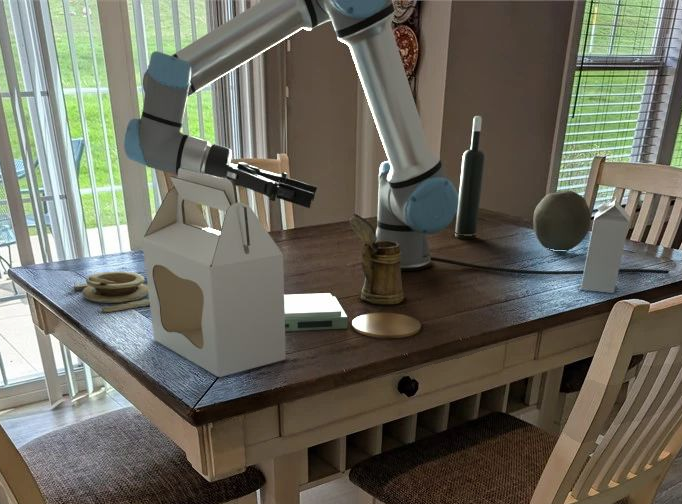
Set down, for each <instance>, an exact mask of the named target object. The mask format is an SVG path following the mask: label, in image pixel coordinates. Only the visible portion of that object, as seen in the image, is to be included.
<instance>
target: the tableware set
mask: <svg viewBox="0 0 682 504" xmlns="http://www.w3.org/2000/svg"><path fill="white" fill-rule="evenodd" d="M85 281H86V283H82V284H75V285H73V290H74V291H81V290H82V291H81V292H82V296H83V297H84V298H85V299H86V300H89V301H91V302H95V303H102V304H103V303H104V304H117V303H124V304H117V305H109V306H103V307H101V309H100V310H101V312H102V313H111V312H117V311H118V312H119V311H124V310H131V309H136V308H141V307H142V308H143V307H148V306H150V302H149V299H143V298H144V297H146V296H148V295H149V294H148V286H147V284H144V282H145V277H144V275H142V274H139V273H136V272H132V271H103V272H98V273H96V274H94V273H93V274H92V275H89V276H87V278H85ZM139 299H142V300H139ZM126 302H127V303H126Z"/></svg>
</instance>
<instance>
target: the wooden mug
mask: <svg viewBox="0 0 682 504" xmlns="http://www.w3.org/2000/svg"><path fill="white" fill-rule="evenodd" d="M349 223H350V227H351V229H352V231H353V232H354V234H355V235H356V236H357V238H359V240H361V242H363V244H364V246H363V248H362V253H361V268H362V272H363V274H364V282H363V287H362V288H361V295H360V299H361V300H362V301H363V302H365V303H368V304H370V305H379V306H390V305H391V306H392V305H398V304H400V303H402V302H403V301H404V300H405V298H404V295H405V294H404V290H403V283H402V271H401V268H400V261H401V251H400V245H399V243H397V242H393V241H387V240H385V241H376V240H377V238H376V230H375V229H374V227H373V225H372V224H371V223H369V222H368V221H367V220H366V219H365V218H363V217H362V216H360V215H358V214H357V213H353V214H352V215H351V216H350V218H349Z"/></svg>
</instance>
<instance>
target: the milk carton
mask: <svg viewBox="0 0 682 504" xmlns="http://www.w3.org/2000/svg"><path fill="white" fill-rule="evenodd" d="M617 198H618V194H615V198H614V200H613V201H612V202H610V203H609V204H608V202H607V201H604V202H603V203H602V204H601V203H600V205H599V206H597V208H596V209H597V212H595V214H594V218H593V222H592V228H591V232H590V238H589V242H588V247H587V253H586V258H585V264H584V268H583V270H584V274H582V279H581V285H580V290H581V291H591V292H598V293H609V294H614V293H615V291H616V290H615V289H616V285H617V281H618V276H619V273H620V272H619V269H620V266H621V262H622V257H623V254H624V248H625V243H626V239H627V234H628V231H629V225H630V218H631V217H630V215H629V213H628V212H627V211H626V210H625V209H624V208H623V207H622V205H621V204H620V203H619V202H618V201H617Z"/></svg>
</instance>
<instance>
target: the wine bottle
mask: <svg viewBox="0 0 682 504" xmlns="http://www.w3.org/2000/svg"><path fill="white" fill-rule="evenodd" d="M482 122H483V118H482V116H481V115H474V117H473V120H472V133H471V144H470V149H466V150H465V151H464V152H463V155H462V160H461V172H460V181H459V191H458V209H457V212H456V222H455V231H454V237H455V238H456V239H459V240H475V239H476V238H477V229H478V220H479V211H480V204H481V203H480V202H481V194H482V185H483V176H484V167H485V160H486V155H485V153H484V151H483V150H482V149H479V148H480V147H479V145H480V138H481V131H482V124H483V123H482ZM455 232H456V233H460V234H474V233H476V235H472V236H464V235H458V234H456V233H455Z"/></svg>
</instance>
